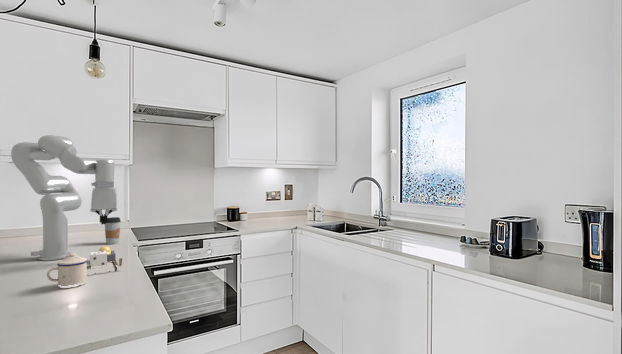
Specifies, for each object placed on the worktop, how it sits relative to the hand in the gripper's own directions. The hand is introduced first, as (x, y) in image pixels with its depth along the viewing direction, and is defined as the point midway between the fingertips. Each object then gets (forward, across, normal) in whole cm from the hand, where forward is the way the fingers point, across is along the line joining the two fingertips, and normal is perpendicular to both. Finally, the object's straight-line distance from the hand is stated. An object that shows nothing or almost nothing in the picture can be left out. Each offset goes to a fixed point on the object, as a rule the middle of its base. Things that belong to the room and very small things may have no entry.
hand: (103, 223), depth 156 cm
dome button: (+17, +1, -1) cm, 17 cm away
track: (+17, -2, -14) cm, 22 cm away
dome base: (+17, +1, -1) cm, 17 cm away
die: (+17, -2, -10) cm, 20 cm away
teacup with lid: (+17, -13, -34) cm, 40 cm away
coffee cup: (+18, +8, +41) cm, 46 cm away
